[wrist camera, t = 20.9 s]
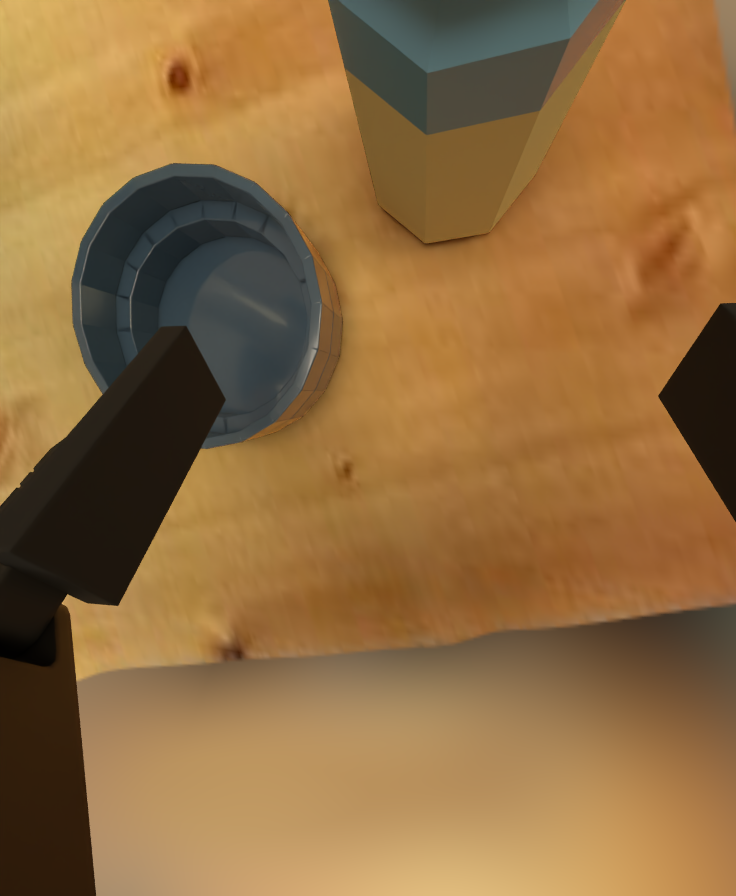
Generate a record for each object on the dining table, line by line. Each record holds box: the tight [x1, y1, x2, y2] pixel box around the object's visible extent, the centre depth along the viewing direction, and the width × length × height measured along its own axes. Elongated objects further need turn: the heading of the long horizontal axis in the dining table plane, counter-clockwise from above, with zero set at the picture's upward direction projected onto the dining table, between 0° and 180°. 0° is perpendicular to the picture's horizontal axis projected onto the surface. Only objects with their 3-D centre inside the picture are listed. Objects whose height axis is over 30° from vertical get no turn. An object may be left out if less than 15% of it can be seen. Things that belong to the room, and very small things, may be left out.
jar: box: [328, 0, 626, 244], centre depth 13 cm, size 9×9×15 cm
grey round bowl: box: [71, 163, 343, 449], centre depth 21 cm, size 14×14×5 cm
